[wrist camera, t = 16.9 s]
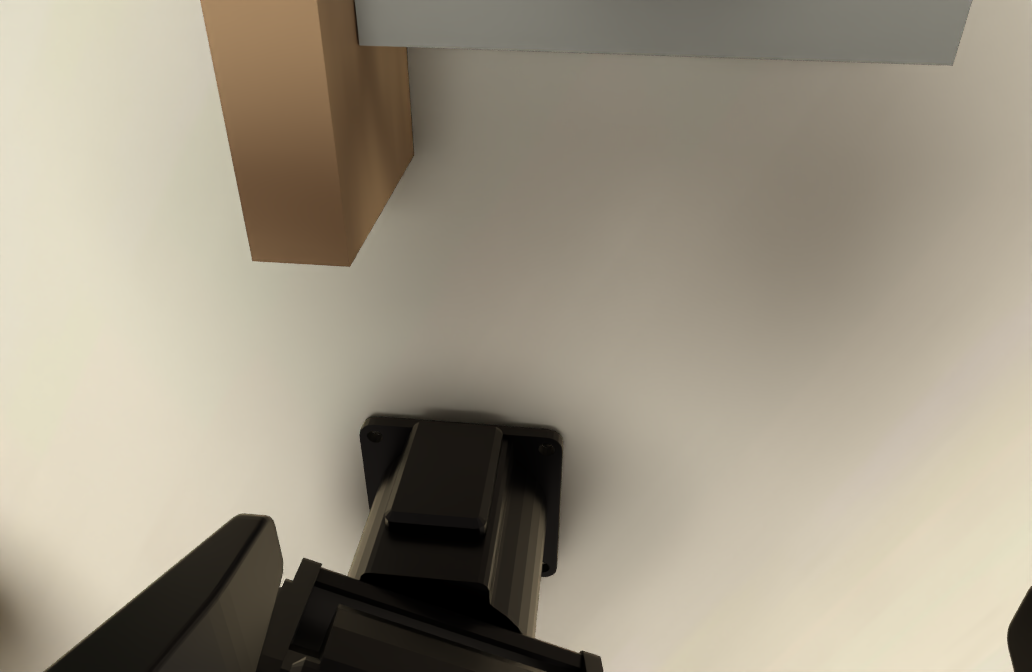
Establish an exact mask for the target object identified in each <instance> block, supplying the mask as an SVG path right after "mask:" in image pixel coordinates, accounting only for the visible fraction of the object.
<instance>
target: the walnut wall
mask: <svg viewBox="0 0 1032 672" xmlns="http://www.w3.org/2000/svg"><path fill="white" fill-rule="evenodd" d="M200 1H201V6H202V11H203V16H204V21H205V26H206V31H207V36H208V41H209V46H210V51H211V56H212V61H213V66H214V71H215V76H216V81H217V86H218V91H219V96H220V101H221V106H222V111H223V116H224V121H225V126H226V131H227V136H228V141H229V146H230V151H231V156H232V161H233V166H234V171H235V176H236V181H237V186H238V191H239V196H240V201H241V206H242V211H243V216H244V221H245V226H246V231H247V236H248V241H249V246H250V251H251V256H252V261H260V262H278V263H295V264H312V265H330V266H347V267H350V266H351V264H352V262H353V260H354V259H355V257H356V255H357V253H358V252H359V250H360V248H361V247H362V245H363V243H364V241H365V240H366V238H367V236H368V234H369V233H370V231H371V229H372V227H373V226H374V224H375V222H376V220H377V219H378V217H379V215H380V214H381V212H382V210H383V208H384V207H385V205H386V203H387V201H388V200H389V198H390V196H391V194H392V193H393V191H394V189H395V187H396V186H397V184H398V182H399V181H400V179H401V177H402V175H403V174H404V172H405V170H406V168H407V167H408V165H409V163H410V161H411V160H412V158H413V156H414V150H413V135H412V120H411V106H410V91H409V76H408V62H407V47H392V46H363V45H359V36H358V26H357V16H356V6H355V0H200Z"/></svg>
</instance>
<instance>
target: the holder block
mask: <svg viewBox="0 0 1032 672" xmlns="http://www.w3.org/2000/svg"><path fill="white" fill-rule="evenodd" d="M971 3H972V0H355V6H356V16H357V26H358V36H359V45H363V46H392V47H422V48H451V49H480V50H510V51H539V52H568V53H598V54H627V55H656V56H686V57H715V58H744V59H774V60H803V61H832V62H862V63H891V64H921V65H950V66H953V63H954V59H955V56H956V53H957V49H958V46H959V43H960V39H961V36H962V33H963V30H964V26H965V23H966V20H967V16H968V13H969V10H970V6H971Z"/></svg>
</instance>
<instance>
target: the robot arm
mask: <svg viewBox="0 0 1032 672" xmlns="http://www.w3.org/2000/svg"><path fill="white" fill-rule="evenodd" d="M372 431H378V432H379V433H381V434H380V435H378V434H375V433H373V432H372ZM360 442H361V449H362V457H363V464H364V472H365V479H366V487H367V494H368V501H369V509H370V513H369V516H368V519H367V522H366V525H365V528H364V530H363V533H362V536H361V539H360V542H359V545H358V548H357V550H356V553H355V556H354V559H353V562H352V565H351V568H350V570H349V573H348V576H346V575H343V574H340V573H337V572H334V571H331V570H328V569H325V568H322V567H321V566H322V564H321V563H318V562H315V561H312V560H309V559H306V558H303V559H302V562H301V564H300V566H299V568H298V571H297V573H296V575H295V577H294V580H293V581H292V580H289V579H285V581H284V584H283V586H282V587H280V588H279V586H280V583H281V579H282V573H283V558H282V553H281V549H280V545H279V540H278V536H277V531H276V527H275V524H274V521H273V519H272V518H271V517H270V516H267V515H256V514H239V515H237V516H235V517H233V518H232V519H231V520H229V521H228V522H227V523H226V524H224V525H223V526H222V527H221V528H220V529H218V530H217V531H216V532H215V533H213V534H212V535H211V536H210V537H209V538H207V539H206V540H205V541H204V542H202V543H201V544H200V545H199V546H197V547H196V548H195V549H194V550H193V551H191V552H190V553H189V554H188V555H186V556H185V557H184V558H183V559H181V560H180V561H179V562H178V563H177V564H175V565H174V566H173V567H172V568H170V569H169V570H168V571H167V572H165V573H164V574H163V575H162V576H161V577H159V578H158V579H157V580H156V581H154V582H153V583H152V584H151V585H149V586H148V587H147V588H146V589H145V590H143V591H142V592H141V593H140V594H138V595H137V596H136V597H135V598H133V599H132V600H131V601H130V602H129V603H127V604H126V605H125V606H124V607H122V608H121V609H120V610H119V611H118V612H116V613H115V614H114V615H113V616H111V617H110V618H109V619H108V620H106V621H105V622H104V623H103V624H102V625H100V626H99V627H98V628H97V629H95V630H94V631H93V632H92V633H90V634H89V635H88V636H87V637H86V638H84V639H83V640H82V641H81V642H79V643H78V644H77V645H76V646H74V647H73V648H72V649H71V650H70V651H68V652H67V653H66V654H65V655H63V656H62V657H61V658H60V659H58V660H57V661H56V662H55V663H54V664H52V665H51V666H50V667H49V668H47V669H46V670H45V671H44V672H603V667H602V662H601V657H600V656H597V655H594V654H591V653H588V652H585V651H580V653H577V652H574V651H571V650H568V649H565V648H562V647H559V646H556V645H553V644H550V643H547V642H544V641H541V640H538V639H535V630H536V620H537V610H538V600H539V590H540V581H541V577H548V576H551V575H553V574H554V573H555V572H556V569H557V559H558V539H559V519H560V499H561V479H562V459H563V439H562V437H561V435H560V434H559V433H557V432H556V431H554V430H549V429H538V428H524V427H511V426H497V425H484V424H470V423H457V422H443V421H430V420H416V419H403V418H389V417H370V418H368V419H366V420H365V422H364V423H363V425H362V428H361V430H360ZM542 444H551V445H552V447H544V446H542ZM542 562H543V563H542ZM1007 642H1008V649H1009V653H1010V657H1011V661H1012V665H1013V669H1014V672H1032V586H1031V587H1030V588H1029V590H1028V592H1027V594H1026V595H1025V597H1024V599H1023V601H1022V603H1021V604H1020V606H1019V608H1018V610H1017V612H1016V614H1015V615H1014V617H1013V619H1012V621H1011V623H1010V625H1009V628H1008V632H1007Z"/></svg>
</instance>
